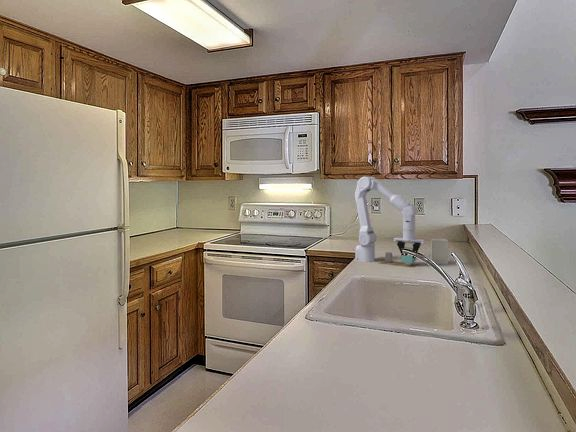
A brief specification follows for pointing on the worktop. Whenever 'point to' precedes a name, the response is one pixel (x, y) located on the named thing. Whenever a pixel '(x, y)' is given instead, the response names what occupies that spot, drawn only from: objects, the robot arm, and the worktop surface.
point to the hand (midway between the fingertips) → (408, 257)
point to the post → (388, 257)
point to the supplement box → (439, 251)
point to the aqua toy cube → (408, 257)
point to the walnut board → (398, 264)
